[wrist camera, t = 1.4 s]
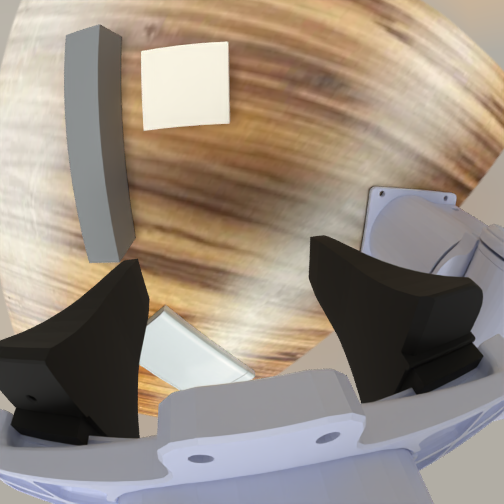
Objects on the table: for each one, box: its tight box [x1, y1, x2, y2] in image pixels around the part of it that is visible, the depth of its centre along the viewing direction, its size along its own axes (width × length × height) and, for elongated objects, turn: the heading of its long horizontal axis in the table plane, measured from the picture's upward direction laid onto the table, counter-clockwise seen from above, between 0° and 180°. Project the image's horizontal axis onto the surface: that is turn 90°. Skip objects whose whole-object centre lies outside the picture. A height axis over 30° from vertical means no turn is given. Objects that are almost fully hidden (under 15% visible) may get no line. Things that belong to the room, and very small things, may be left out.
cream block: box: [141, 42, 230, 131], centre depth 16 cm, size 5×5×4 cm
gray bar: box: [64, 24, 136, 263], centre depth 17 cm, size 2×16×4 cm, turn 0°
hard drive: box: [139, 305, 255, 391], centre depth 29 cm, size 2×8×12 cm
